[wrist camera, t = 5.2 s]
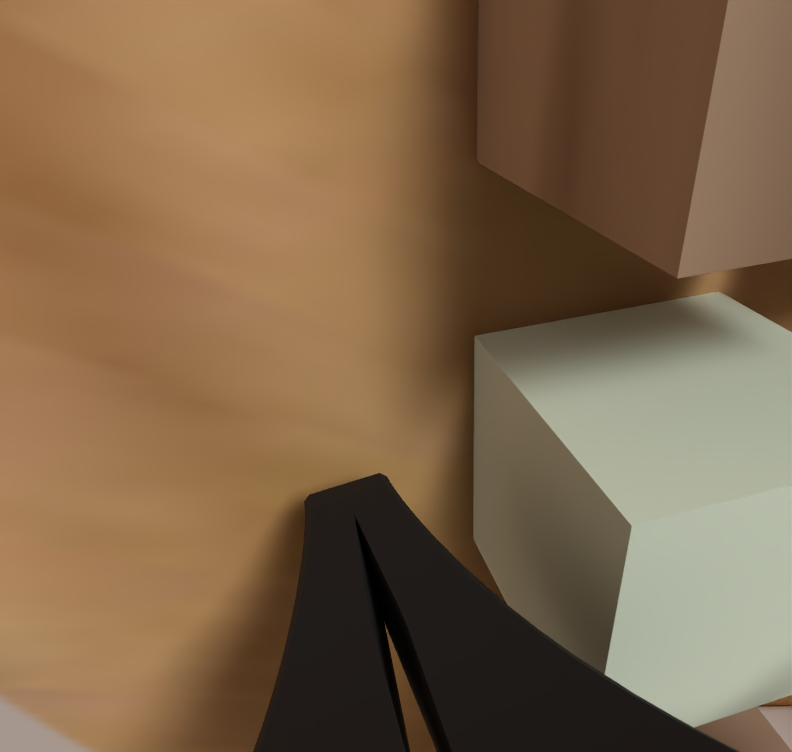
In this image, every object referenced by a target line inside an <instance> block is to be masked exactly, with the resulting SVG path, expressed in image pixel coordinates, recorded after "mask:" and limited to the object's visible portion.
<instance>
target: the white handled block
mask: <svg viewBox="0 0 792 752" xmlns="http://www.w3.org/2000/svg"><path fill="white" fill-rule="evenodd" d="M757 708H758V709H759V710H760V711H761V713H762V714H763V715H764V716H765V718H766V719H767V720H768V722H769V723H770V724H771V725H772V727H773V728H774V729H775V730H776V732H777V733H778V734H779V735H780V737H781V738H782V739H783V740H784V742H785V743H786V744H787V746H788V747H789V748H790V749H791V751H792V706H757Z"/></svg>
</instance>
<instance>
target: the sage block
mask: <svg viewBox="0 0 792 752" xmlns="http://www.w3.org/2000/svg"><path fill="white" fill-rule="evenodd" d="M473 539H474V541H475V543H476V545H477V547H478V549H479V551H480V553H481V555H482V557H483V559H484V561H485V563H486V565H487V567H488V568H489V570H490V572H491V574H492V576H493V578H494V580H495V582H496V584H497V586H498V588H499V590H500V592H501V594H502V596H503V598H504V600H505V601H506V603H507V605H508V606H510V607H511V608H512V609H513V610H515V611H516V612H517V613H518V614H520V615H521V616H522V617H523V618H525V619H526V620H527V621H529V622H530V623H531V624H533V625H534V626H535V627H536V628H538V629H539V630H540V631H542V632H543V633H544V634H546V635H547V636H549V637H550V638H551V639H553V640H554V641H556V642H557V643H558V644H560V645H561V646H562V647H564V648H565V649H567V650H568V651H569V652H571V653H572V654H574V655H575V656H577V657H578V658H580V659H581V660H583V661H585V662H586V663H588V664H589V665H591V666H592V667H594V668H595V669H597V670H599V671H600V672H602V673H603V674H605V675H606V676H608V677H609V678H611V679H613V680H614V681H616V682H617V683H619V684H620V685H622V686H623V687H625V688H627V689H628V690H630V691H631V692H633V693H634V694H636V695H638V696H639V697H641V698H643V699H645V700H646V701H648V702H650V703H652V704H653V705H655V706H657V707H658V708H660V709H662V710H664V711H665V712H667V713H669V714H671V715H672V716H674V717H676V718H677V719H679V720H681V721H683V722H685V723H686V724H688V725H690V726H692V727H697V726H700V725H703V724H706V723H709V722H712V721H715V720H718V719H721V718H724V717H727V716H730V715H733V714H736V713H739V712H742V711H745V710H748V709H751V708H754V707H757V706H760V705H763V704H766V703H769V702H772V701H775V700H778V699H781V698H784V697H787V696H790V695H792V332H790V331H788V330H787V329H785V328H783V327H781V326H780V325H778V324H776V323H774V322H772V321H771V320H769V319H767V318H765V317H764V316H762V315H760V314H758V313H756V312H755V311H753V310H751V309H749V308H748V307H746V306H744V305H742V304H740V303H739V302H737V301H735V300H733V299H732V298H730V297H728V296H726V295H724V294H723V293H721V292H719V291H718V292H713V293H707V294H702V295H696V296H691V297H685V298H680V299H674V300H669V301H663V302H658V303H652V304H647V305H641V306H636V307H630V308H625V309H619V310H614V311H608V312H603V313H597V314H592V315H586V316H581V317H575V318H570V319H564V320H559V321H553V322H548V323H542V324H537V325H531V326H526V327H520V328H515V329H509V330H504V331H498V332H493V333H487V334H482V335H476V336H475V345H474V501H473Z"/></svg>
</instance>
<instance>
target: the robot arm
mask: <svg viewBox="0 0 792 752" xmlns="http://www.w3.org/2000/svg"><path fill="white" fill-rule="evenodd" d="M304 505H305V533H304V545H303V554H302V563H301V569H300V575H299V582H298V588H297V594H296V600H295V605H294V610H293V615H292V619H291V624H290V628H289V632H288V637H287V641H286V645H285V650H284V654H283V658H282V662H281V666H280V669H279V673H278V677H277V680H276V684H275V687H274V690H273V694H272V697H271V700H270V703H269V707H268V710H267V713H266V716H265V719H264V722H263V726H262V729H261V731H260V734H259V737H258V740H257V743H256V745H255V748H254V751H253V752H410V749H409V744H408V739H407V734H406V729H405V724H404V719H403V714H402V709H401V704H400V699H399V693H398V688H397V683H396V678H395V673H394V668H393V663H392V658H391V653H390V648H389V643H388V638H387V633H386V628H385V625H386V627H387V629H388V632H389V634H390V637H391V639H392V642H393V644H394V647H395V649H396V652H397V654H398V657H399V659H400V662H401V664H402V666H403V669H404V671H405V674H406V676H407V679H408V681H409V684H410V686H411V689H412V691H413V694H414V696H415V698H416V701H417V703H418V706H419V708H420V711H421V713H422V716H423V718H424V721H425V723H426V725H427V728H428V730H429V733H430V735H431V738H432V740H433V743H434V745H435V748H436V751H437V752H740V751H738V750H736V749H734V748H732V747H730V746H728V745H726V744H724V743H722V742H720V741H718V740H716V739H714V738H712V737H711V736H709V735H707V734H705V733H703V732H701V731H699V730H698V729H696V728H694V727H692V726H690V725H688V724H686V723H685V722H683V721H681V720H679V719H677V718H676V717H674V716H672V715H671V714H669V713H667V712H665V711H664V710H662V709H660V708H658V707H657V706H655V705H653V704H652V703H650V702H648V701H646V700H645V699H643V698H641V697H639V696H638V695H636V694H634V693H633V692H631V691H630V690H628V689H627V688H625V687H623V686H622V685H620V684H619V683H617V682H616V681H614V680H613V679H611V678H609V677H608V676H606V675H605V674H603V673H602V672H600V671H599V670H597V669H595V668H594V667H592V666H591V665H589V664H588V663H586V662H585V661H583V660H581V659H580V658H578V657H577V656H575V655H574V654H572V653H571V652H569V651H568V650H567V649H565V648H564V647H562V646H561V645H560V644H558V643H557V642H556V641H554V640H553V639H551V638H550V637H549V636H547V635H546V634H544V633H543V632H542V631H540V630H539V629H538V628H536V627H535V626H534V625H533V624H531V623H530V622H529V621H527V620H526V619H525V618H523V617H522V616H521V615H520V614H518V613H517V612H516V611H515V610H513V609H512V608H511V607H510V606H508V605H507V604H506V603H505V602H504V601H502V600H501V599H500V598H499V597H498V596H496V595H495V594H494V593H493V592H492V591H491V590H490V589H488V588H487V587H486V586H485V585H484V584H483V583H482V582H481V581H479V580H478V579H477V578H476V577H475V576H474V575H473V574H472V573H471V572H469V571H468V570H467V569H466V568H465V567H464V566H463V565H462V564H461V563H460V562H459V561H458V560H457V559H456V558H455V557H454V556H453V555H452V554H451V553H450V552H449V551H448V550H447V549H446V548H445V547H444V546H443V545H442V544H441V543H440V542H439V541H438V540H437V539H436V538H435V537H434V536H433V535H432V534H431V532H430V531H429V530H428V529H427V528H426V527H425V526H424V525H423V524H422V523H421V521H420V520H419V519H418V518H417V517H416V516H415V514H414V513H413V512H412V511H411V510H410V508H409V507H408V506H407V505H406V503H405V502H404V501H403V500H402V498H401V497H400V496H399V494H398V493H397V492H396V490H395V489H394V487H393V486H392V484H391V483H390V481H389V479H388V478H387V476H385V475H383V474H380V473H378V474H375V475H372V476H368V477H365V478H362V479H359V480H356V481H352V482H349V483H346V484H343V485H339V486H336V487H333V488H330V489H327V490H323V491H320V492H317V493H314V494H310V495H309V496H308V497H307V499H306V500H305V502H304ZM384 622H385V623H384Z"/></svg>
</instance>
